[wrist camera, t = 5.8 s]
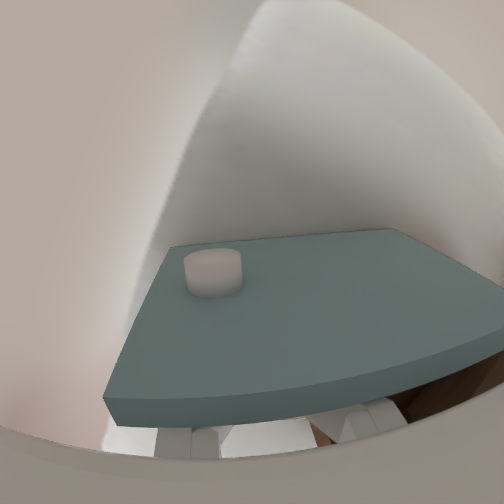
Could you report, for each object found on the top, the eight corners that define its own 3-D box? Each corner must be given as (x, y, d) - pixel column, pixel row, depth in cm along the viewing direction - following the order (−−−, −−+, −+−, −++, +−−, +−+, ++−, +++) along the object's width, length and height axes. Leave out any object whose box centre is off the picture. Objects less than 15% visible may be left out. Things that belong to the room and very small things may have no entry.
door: (391, 244, 17) (529, 335, 7) (173, 264, 16) (117, 425, 6) (393, 210, 17) (546, 280, 6) (167, 227, 16) (85, 357, 5)
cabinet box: (480, 297, 21) (573, 367, 9) (401, 410, 24) (456, 501, 12) (395, 242, 18) (540, 335, 7) (300, 393, 21) (346, 531, 10)
